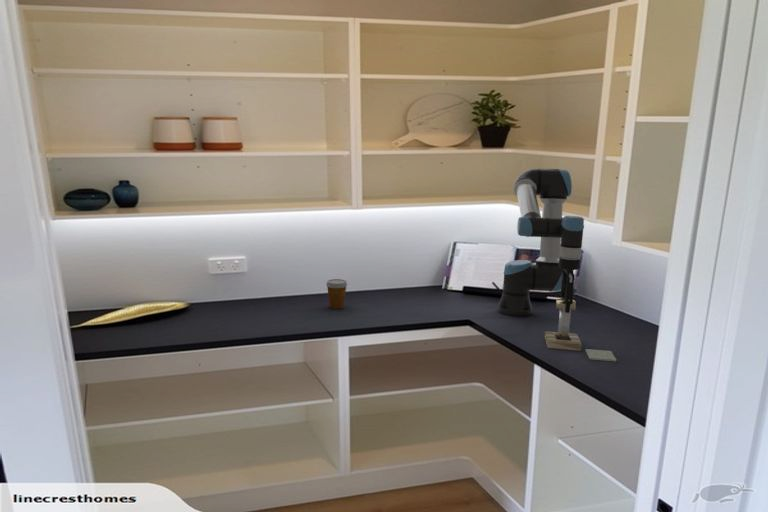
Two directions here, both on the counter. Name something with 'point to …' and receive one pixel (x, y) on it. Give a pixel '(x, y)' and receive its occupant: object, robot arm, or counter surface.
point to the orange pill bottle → (336, 292)
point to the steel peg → (563, 325)
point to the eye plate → (563, 341)
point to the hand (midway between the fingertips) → (564, 317)
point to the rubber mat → (600, 355)
